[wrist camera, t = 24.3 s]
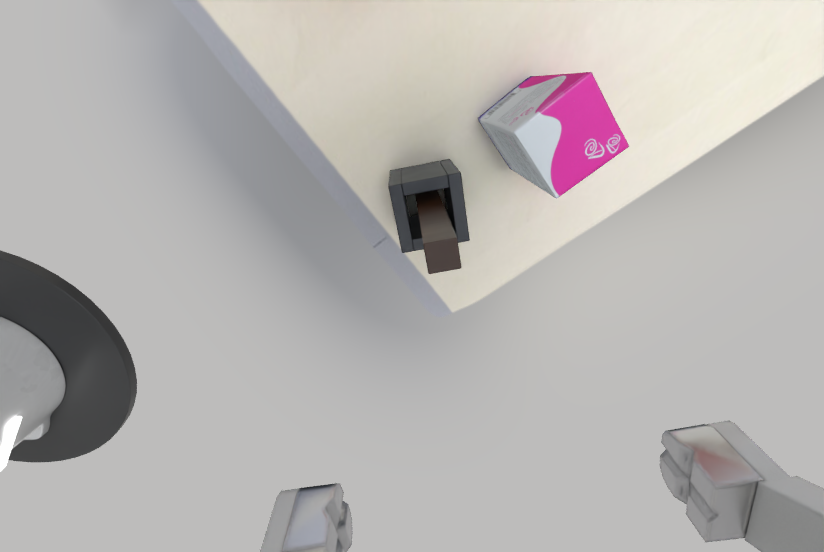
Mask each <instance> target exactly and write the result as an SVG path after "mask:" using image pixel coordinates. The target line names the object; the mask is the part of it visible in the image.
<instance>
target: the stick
mask: <svg viewBox="0 0 824 552" xmlns="http://www.w3.org/2000/svg"><path fill="white" fill-rule="evenodd" d="M415 197H416V203H417V209H418V216H419V222H420V228H421V234H422V240H423V246H424V252H425V257H426V262H427V268H428V273H429V274H432V273H438V272H443V271H449V270H454V269H460V268H461V261H460V255H459V248H458V241H457V237H456V234H455V232H454V229H453V227H452V224H451V222H450V219H449V217H448V214H447V212H446V209H445V207H444V204H443V202H442V199H441V197H440V195H439V192H438V190H433V191H428V192H423V193H418V194H415Z"/></svg>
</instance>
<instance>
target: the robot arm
mask: <svg viewBox="0 0 824 552" xmlns="http://www.w3.org/2000/svg"><path fill="white" fill-rule="evenodd" d="M65 387H66V384H65V377H64V373H63V370H62V368H61V366H60V364H59V362H58V360H57V359H56V357H55V356H54V354H53V353H52V352H51V351H50V349H49V348H48V347H47V346H46V345H45V344H44V343H43V342H42V341H41V340H39V339H38V338H37V337H36V336H35V335H33V334H32V333H31V332H29V331H28V330H26V329H25V328H23V327H21V326H20V325H18V324H16V323H14V322H12V321H10V320H7V319H5V318H3V317H0V471H1V470H2V469H3V468H4V467H5V466H6V463H7V461H8V458H9V455H10V452H11V450H12V449H13V448H14V447H15V446H17V445H18V444H19V443H20V442H21V441H23V440H34V439H39V438H40V437H42V436H43V435H44V434H45V433H47V432H48V430H49V427H50V416H51V414H52V413H53V411H54V410H55V409H56V408H57V407H58V406H59V405H60V403H61V402H62V400H63V397H64V394H65ZM662 444H663V445H664V447H665V448H666V450H665V451H664V452H663V453H662V454H661V456H660V468H661V472H662V476H663V479H664V480H665V483H666V485H667V487H668V488H669V490H670V491H671V493H672V494H673V496H674V497H675V498H677V499H679V500H680V501H682V502H684V503H685V504H687V509H686V515H687V516H688V518H689V519H690V521H691V522H692V524H693V525H694V526H695V528H696V529H697V531H698V532H699V534H700V535H701V537H702V538H703V539H704V541H705V542H712V541H721V540H730V539H738V538H745V540H746V541H747V542H748V543H750V544H751V545H753V546H754V547H756V548H757V549H758V550H760V551H761V552H824V489H823V488H821V487H819V486H817V485H815V484H812V483H810V482H808V481H806V480H804V479H802V478H800V477H798V476H795V477H790V476H789V475H787V474H786V473H785V472H784V471H783V470H782V469H781V468H780V467H779V466H778V465H777V464H776V463H775V462H774V461H773V460H772V459H771V458H770V457H769V456H768V455H767V454H766V453H765V452H764V451H763V450H762V449H761V448H760V447H759V446H758V445H757V444H755V442H754V441H752V440H751V439H750V438H749V437H748V436H747V435H746V434H745V433H744V432H743V431H742V430H741V429H740V428H739V427H738V426H737V425H736V424H735V423H733V422H731V421H724V422H718V423H712V424H707V425H705V424H703V425H697V426H691V427H686V428H680V429H674V430H668V431H665V432H664V433H663V435H662ZM351 544H352V517H351V512H350V509H349V506H348V504H347V503H345V502H344V501H343V490H342V487H341V485H340V484H339V483H338V484H329V485H321V486H313V487H306V488H299V489H292V490H285V491H281V492H280V493H279V495H278V496H277V498H276V502H275V505H274V508H273V511H272V514H271V518H270V521H269V524H268V528H267V531H266V534H265V538H264V541H263V544H262V547H261V550H260V552H347V551H348V549H349V548H350V546H351Z"/></svg>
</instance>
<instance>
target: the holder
mask: <svg viewBox="0 0 824 552" xmlns="http://www.w3.org/2000/svg"><path fill="white" fill-rule="evenodd" d="M439 189H444V195H445V201H446V208H447V209H446V212H447V214H448V217H449V219H450V222H451V224H452V227H453V229H454V232H455V234H456V237H457V241H458V243H459V242H465V241H469V240H470V239H469V232H468V224H467V217H466V209H465V202H464V194H463V187H462V179H461V173H460V171H459V170H458V169H457V168H456V166H455V165H454V164H453V163H452V161H451V160H450V159H447V160H442V161H440V162H439V161H436V162H431V163H426V164H421V165H416V166H411V167H406V168H401V169H395V170H390V177H389V191H390V196H391V201H392V206H393V211H394V215H395V220H396V225H397V230H398V235H399V239H400V244H401V249H402V253H405V252H411V251H416V250H422V249H424V246H423V240H422V234H421V228H420V222H419V216H418V215H413V216H410V214H409V209H408V204H407V199H406V196H407V195H412V194H418V193H423V192H428V191H433V190H439Z"/></svg>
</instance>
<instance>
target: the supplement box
mask: <svg viewBox="0 0 824 552" xmlns="http://www.w3.org/2000/svg"><path fill="white" fill-rule="evenodd" d="M478 120H479V122H480V123H481V125H482V126H483V128H484V130H485V131H486V133H487V134H488V136H489V137H490V139H491V140H492V142H493V143H494V145H495V146H496V148H497V149H498V151H499V153H500V154H501V156H502V157H503V159H504V160H505V162H506V163H507V165H508V166H509V168H510V169H511V170H513V171H515V172H516V173H518V174H520V175H521V176H523V177H524V178H526V179H527V180H529V181H530V182H532V183H533V184H535V185H536V186H538V187H539V188H541V189H542V190H544V191H546V192H547V193H549V194H550V195H552V196H553V197H555V198H558V197H559V196H561V195H562V194H564V193H565V192H566V191H568V190H569V189H571V188H572V187H573V186H575V185H576V184H577V183H579V182H580V181H582V180H583V179H584V178H586V177H587V176H589V175H590V174H591V173H593V172H594V171H596V170H597V169H598V168H600V167H601V166H603V165H604V164H605V163H607V162H608V161H609V160H611V159H612V158H614V157H615V156H616V155H618V154H619V153H621V152H622V151H623V150H625V149H626V148H628V147H629V145H628V143H627V141H626V139H625V137H624V135H623V133H622V131H621V130H620V128H619V126H618V124H617V123H616V121H615V119H614V117H613V114H612V112H611V110H610V108H609V106H608V104H607V102H606V100H605V98H604V96H603V94H602V92H601V90H600V88H599V86H598V84H597V82H596V80H595V78H594V76H593V74H592V73H591V72H586V73H574V74H560V75H547V76H531V77H529V78H527V79H526V80H525V81H523V82H522V83H521V84H520V85H518V86H517V87H516V88H514V89H513V90H512V91H511V92H509V93H508V94H507V95H506V96H504V97H503V98H502V99H501V100H499V101H498V102H497V103H496V104H495V105H493V106H492V107H491V108H490V109H488V110H487V111H486V112H485V113H484V114H483V115H481V116H480V117H479V118H478Z"/></svg>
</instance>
